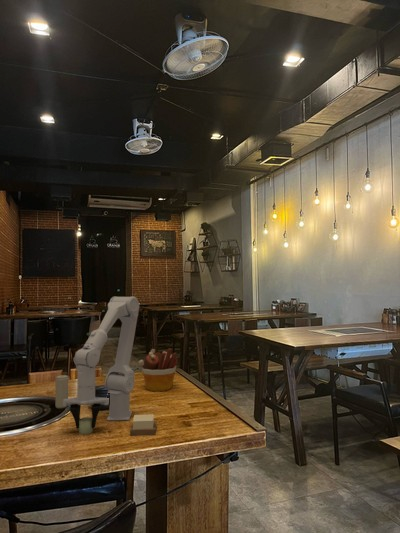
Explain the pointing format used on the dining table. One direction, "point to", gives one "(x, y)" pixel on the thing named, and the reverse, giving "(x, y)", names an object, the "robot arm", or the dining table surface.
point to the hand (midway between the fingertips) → (85, 427)
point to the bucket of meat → (159, 370)
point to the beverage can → (61, 390)
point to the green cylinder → (85, 425)
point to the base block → (143, 431)
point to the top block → (143, 421)
